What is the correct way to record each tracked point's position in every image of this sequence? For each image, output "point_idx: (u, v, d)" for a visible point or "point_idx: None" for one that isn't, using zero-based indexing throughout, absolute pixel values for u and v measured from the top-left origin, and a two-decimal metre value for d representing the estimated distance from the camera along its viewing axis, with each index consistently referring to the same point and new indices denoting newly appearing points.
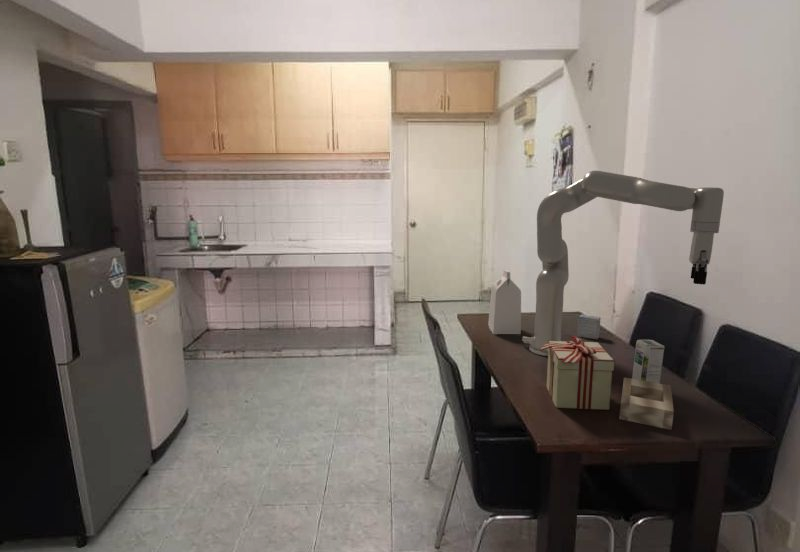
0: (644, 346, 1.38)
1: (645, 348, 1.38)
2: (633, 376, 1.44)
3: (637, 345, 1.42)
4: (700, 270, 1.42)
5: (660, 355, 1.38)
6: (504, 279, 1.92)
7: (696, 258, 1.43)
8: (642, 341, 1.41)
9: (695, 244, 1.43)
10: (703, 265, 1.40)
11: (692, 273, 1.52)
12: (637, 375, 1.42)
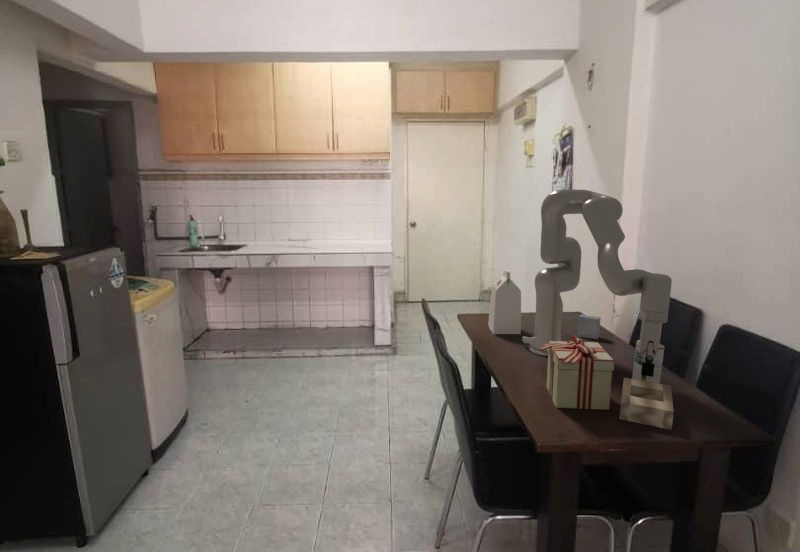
0: None
1: None
2: (633, 376, 1.44)
3: (637, 345, 1.42)
4: (647, 362, 1.36)
5: (660, 355, 1.38)
6: (504, 279, 1.92)
7: (643, 349, 1.37)
8: None
9: (642, 334, 1.36)
10: (649, 358, 1.34)
11: None
12: (637, 375, 1.42)
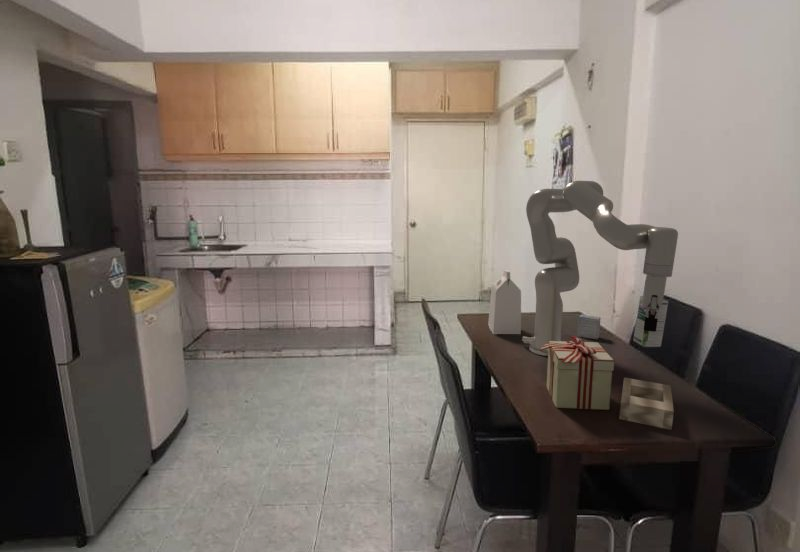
0: None
1: None
2: (635, 333, 1.42)
3: (640, 301, 1.40)
4: (650, 317, 1.34)
5: (663, 311, 1.36)
6: (504, 279, 1.92)
7: (647, 304, 1.34)
8: None
9: (646, 288, 1.34)
10: (653, 312, 1.32)
11: None
12: (639, 331, 1.40)
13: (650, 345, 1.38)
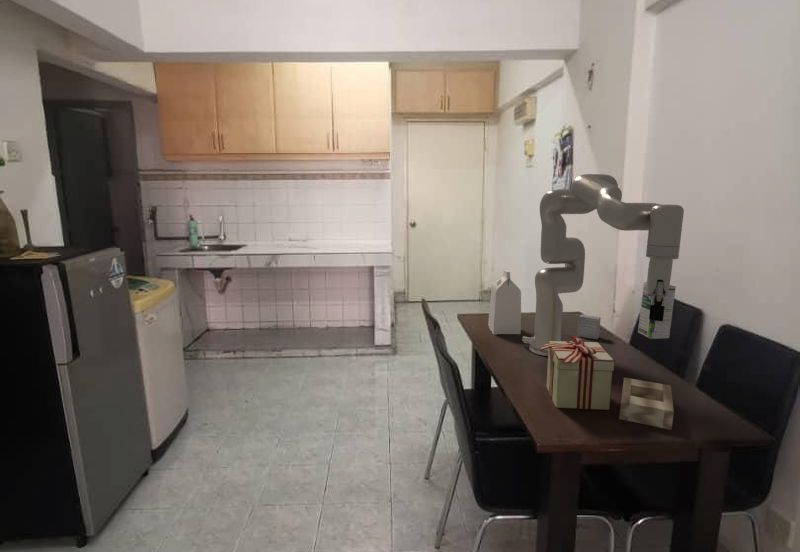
0: None
1: None
2: (640, 323, 1.27)
3: (644, 288, 1.26)
4: (656, 304, 1.20)
5: (671, 298, 1.22)
6: (504, 279, 1.92)
7: (652, 290, 1.20)
8: None
9: (651, 272, 1.20)
10: (659, 299, 1.18)
11: None
12: (644, 321, 1.25)
13: (657, 336, 1.23)
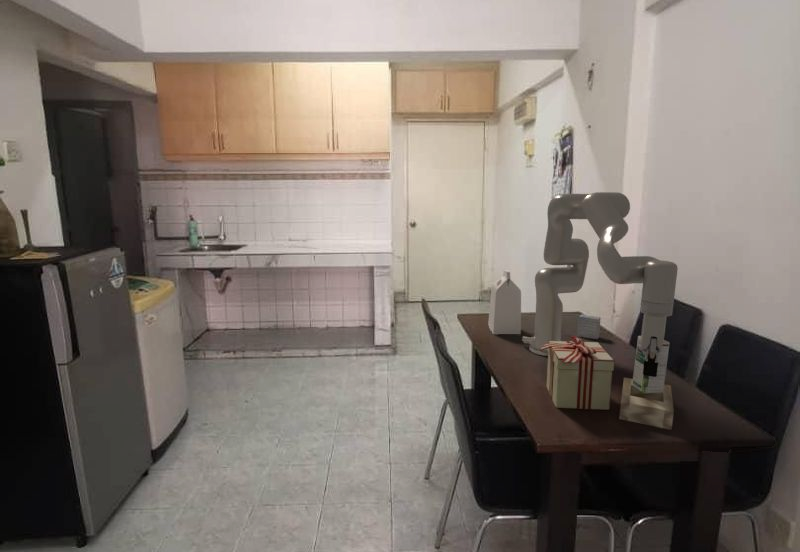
0: None
1: None
2: (634, 376, 1.28)
3: (638, 342, 1.26)
4: (650, 361, 1.20)
5: (664, 353, 1.22)
6: (504, 279, 1.92)
7: (645, 346, 1.21)
8: None
9: (644, 328, 1.21)
10: (652, 356, 1.18)
11: None
12: (638, 375, 1.26)
13: (651, 391, 1.24)
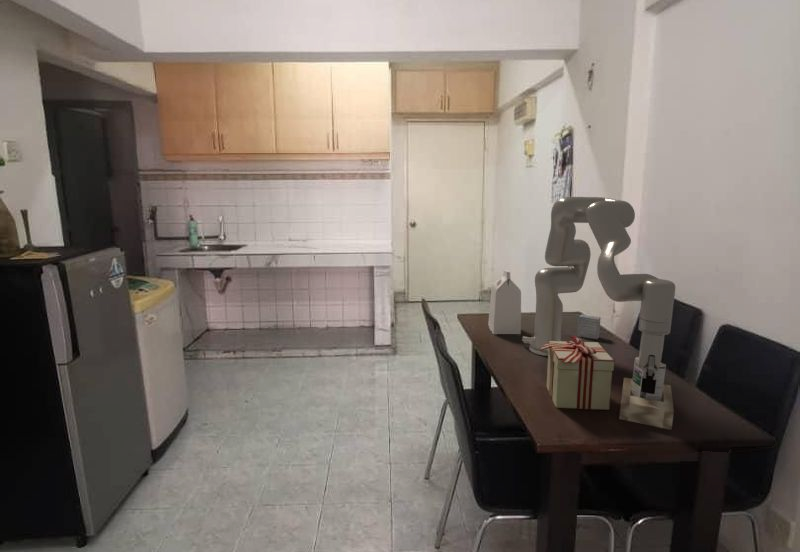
0: None
1: None
2: None
3: (635, 363, 1.27)
4: (648, 378, 1.20)
5: (661, 375, 1.23)
6: (504, 280, 1.92)
7: (644, 363, 1.21)
8: None
9: (642, 347, 1.21)
10: (651, 374, 1.19)
11: None
12: (635, 396, 1.27)
13: None
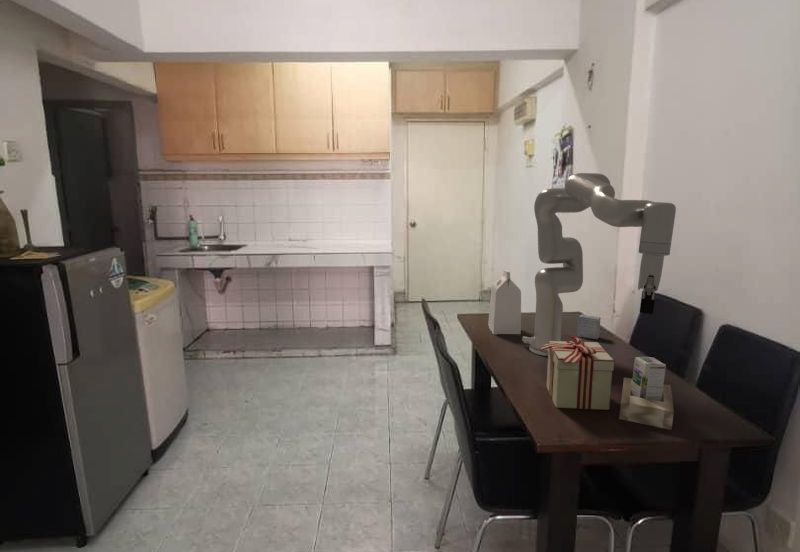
0: (643, 365, 1.24)
1: (643, 367, 1.23)
2: None
3: (635, 363, 1.27)
4: (646, 298, 1.23)
5: (661, 375, 1.23)
6: (504, 280, 1.92)
7: (643, 284, 1.24)
8: (641, 359, 1.26)
9: (642, 268, 1.24)
10: (649, 293, 1.21)
11: None
12: (635, 396, 1.27)
13: None
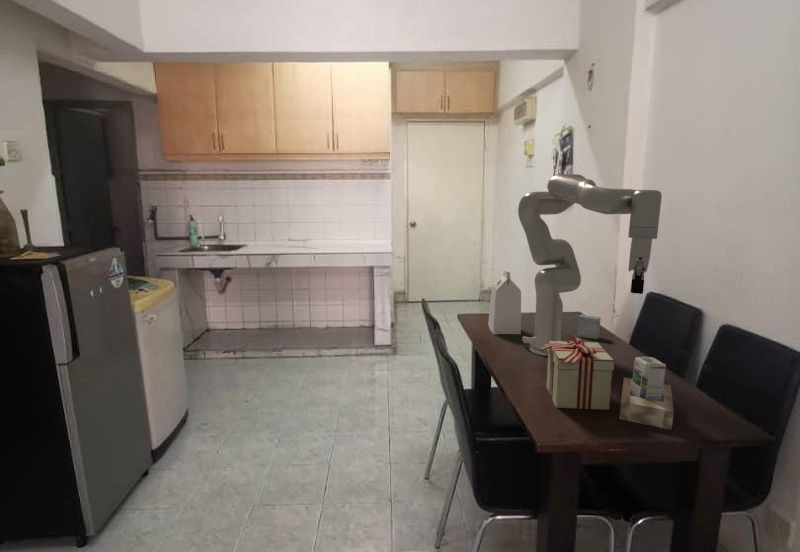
0: (643, 365, 1.24)
1: (643, 367, 1.23)
2: None
3: (635, 363, 1.27)
4: (637, 278, 1.32)
5: (661, 375, 1.23)
6: (504, 279, 1.92)
7: (633, 265, 1.33)
8: (641, 359, 1.26)
9: (632, 250, 1.33)
10: (639, 273, 1.30)
11: None
12: (635, 396, 1.27)
13: None
